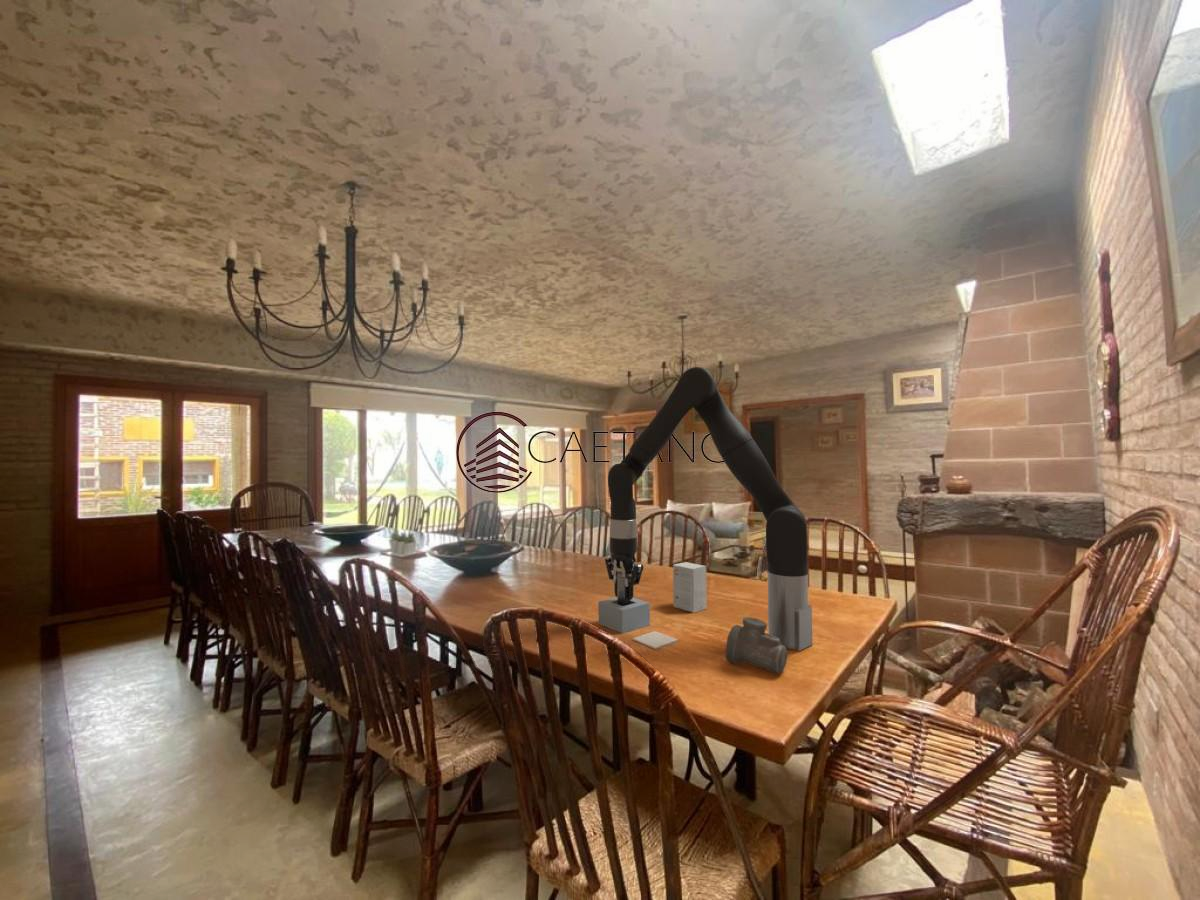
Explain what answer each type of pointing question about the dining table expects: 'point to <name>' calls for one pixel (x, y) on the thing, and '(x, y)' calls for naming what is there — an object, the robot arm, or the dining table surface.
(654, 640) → the coaster
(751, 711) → the dining table surface
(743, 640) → the pipe fitting
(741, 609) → the dining table surface
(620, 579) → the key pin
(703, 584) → the small box
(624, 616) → the block
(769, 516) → the robot arm
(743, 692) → the dining table surface
